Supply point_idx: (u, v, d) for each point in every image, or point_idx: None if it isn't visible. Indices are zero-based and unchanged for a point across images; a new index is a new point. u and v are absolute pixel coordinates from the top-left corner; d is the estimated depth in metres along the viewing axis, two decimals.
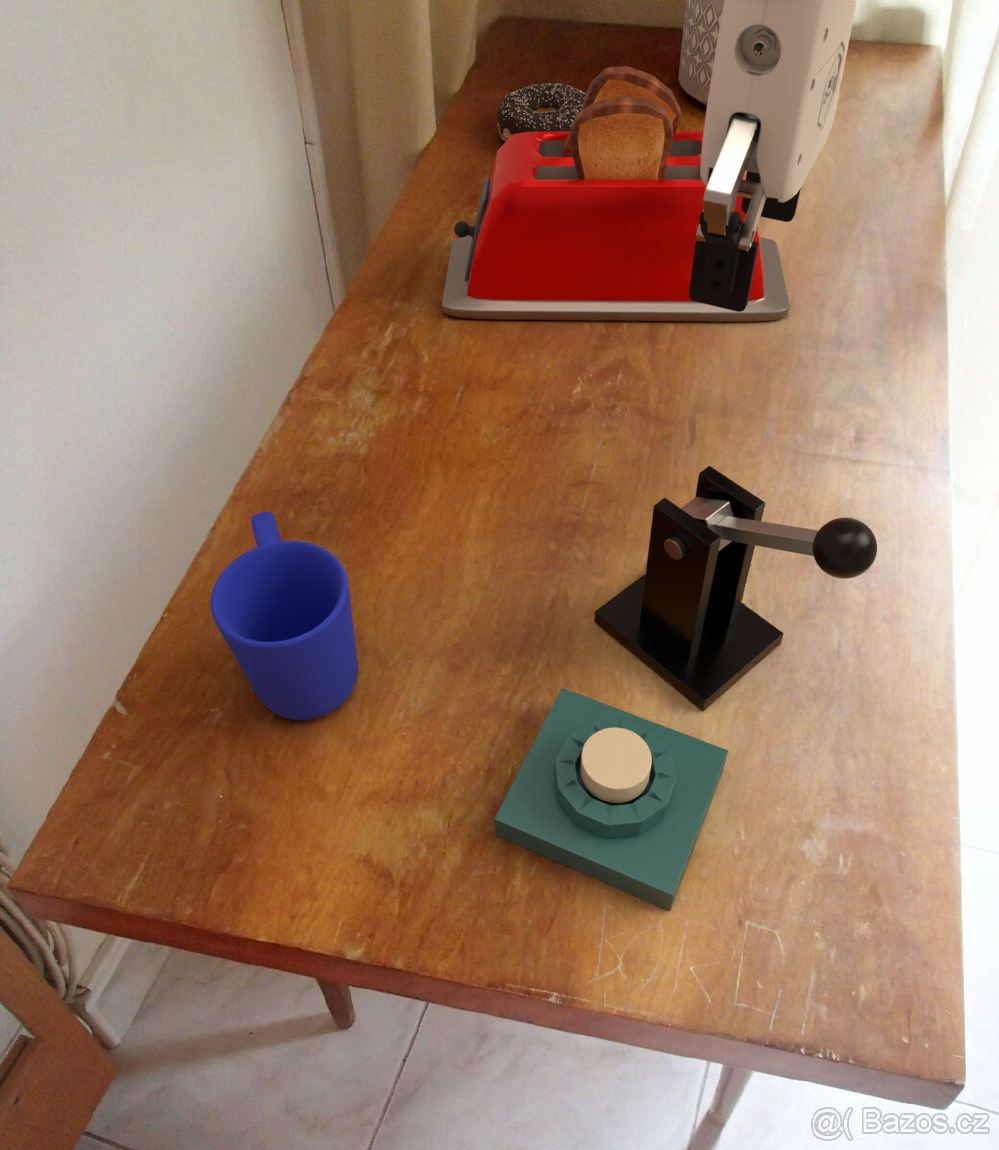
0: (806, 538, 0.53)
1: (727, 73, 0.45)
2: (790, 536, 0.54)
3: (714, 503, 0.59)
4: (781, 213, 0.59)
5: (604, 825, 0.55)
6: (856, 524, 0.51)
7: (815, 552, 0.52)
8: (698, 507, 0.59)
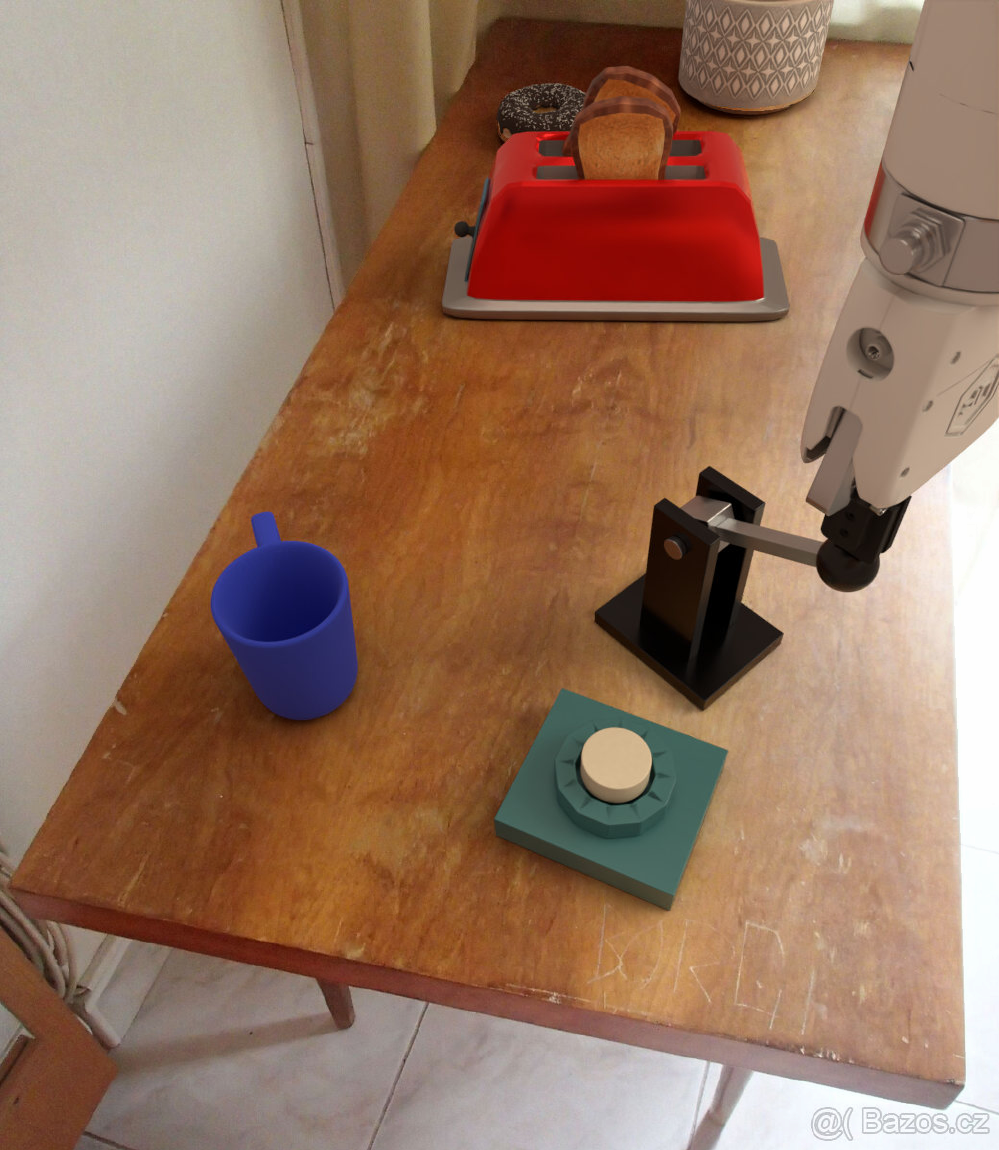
0: (809, 549, 0.53)
1: (836, 364, 0.39)
2: (793, 545, 0.54)
3: (716, 504, 0.59)
4: None
5: (604, 825, 0.55)
6: None
7: (819, 565, 0.52)
8: (699, 507, 0.59)
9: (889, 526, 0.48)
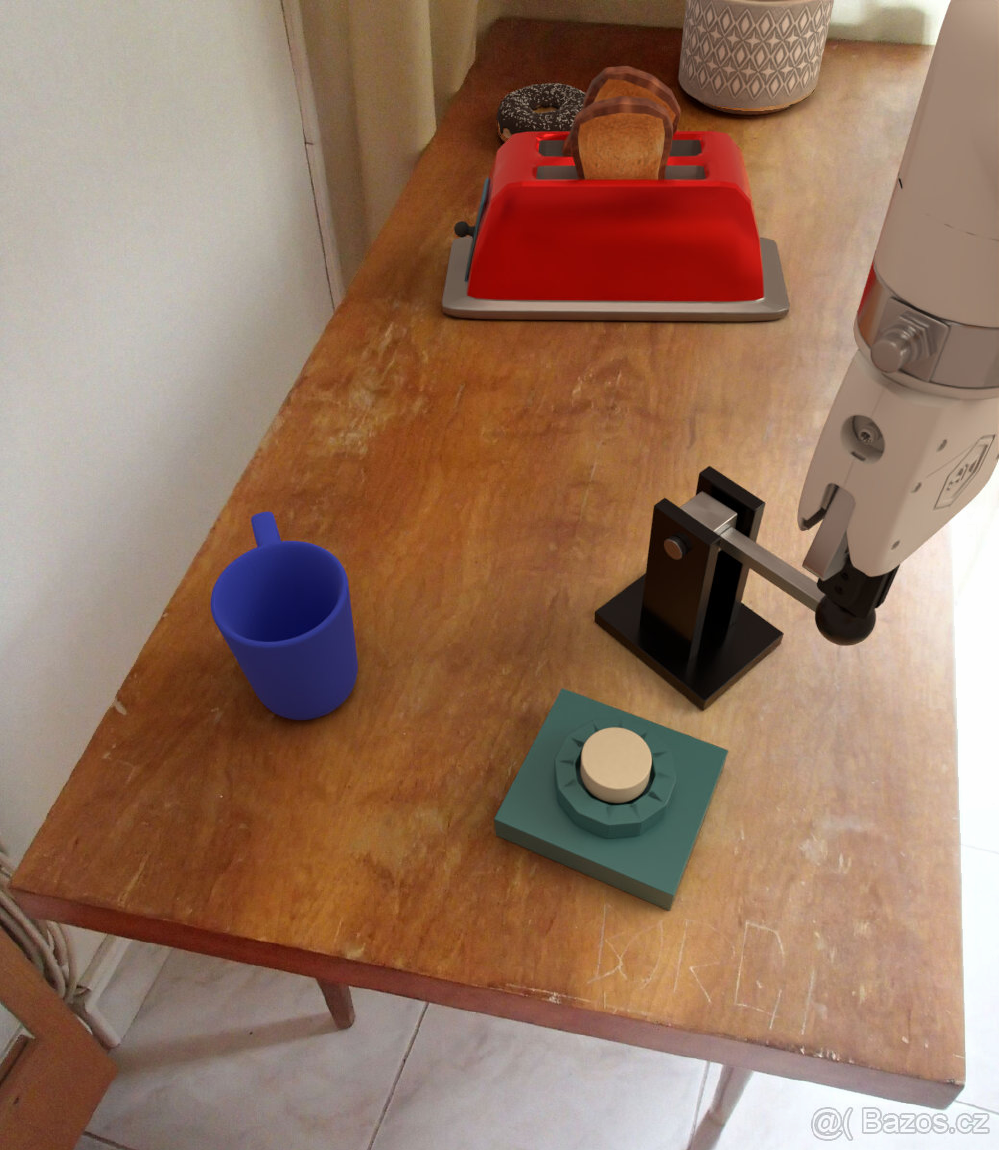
0: (812, 594, 0.55)
1: (831, 445, 0.42)
2: (796, 584, 0.56)
3: (722, 510, 0.59)
4: None
5: (604, 825, 0.55)
6: None
7: (820, 617, 0.54)
8: (705, 509, 0.59)
9: (881, 585, 0.50)
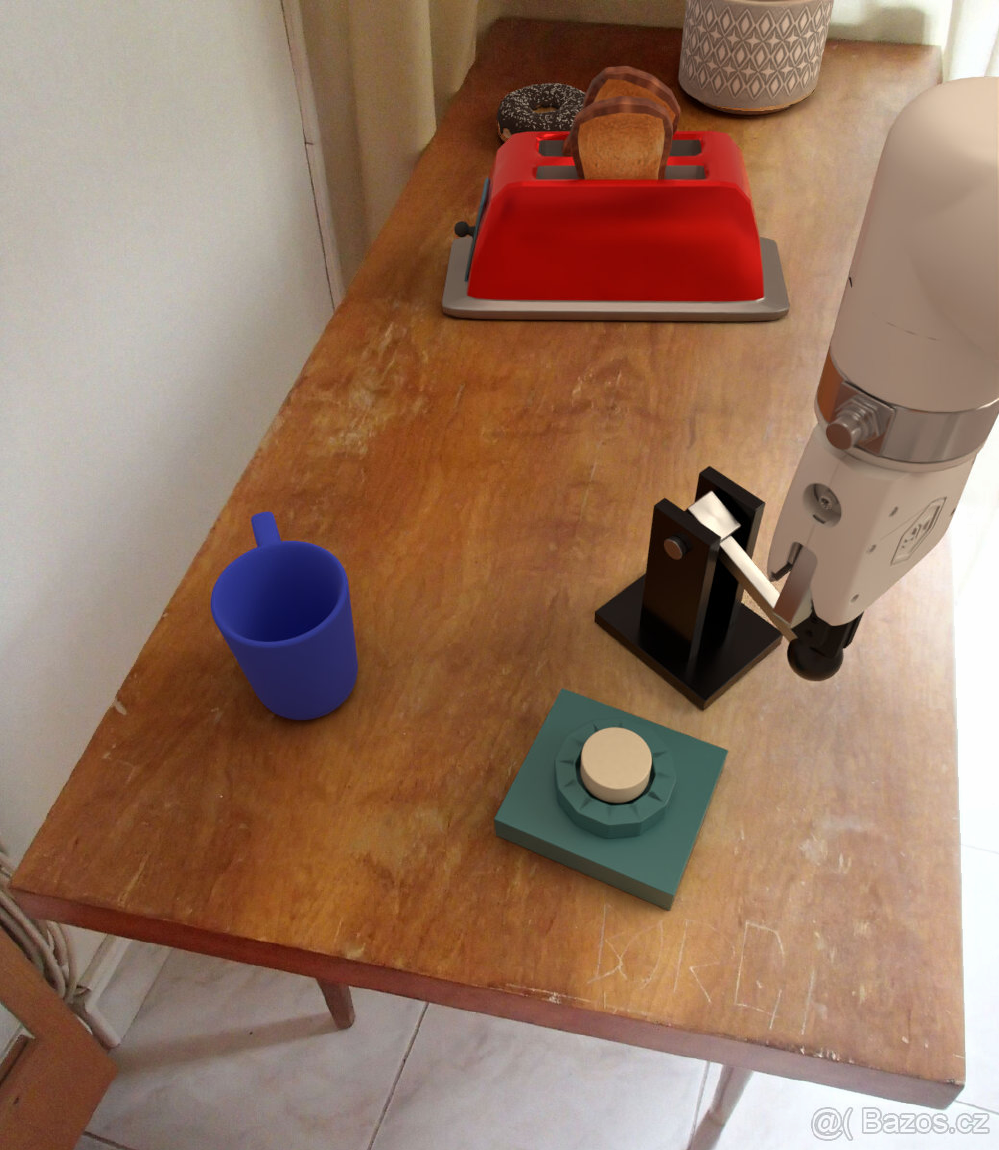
0: None
1: (794, 508, 0.46)
2: None
3: (727, 519, 0.59)
4: None
5: (604, 825, 0.55)
6: (840, 654, 0.57)
7: (796, 655, 0.58)
8: (712, 514, 0.59)
9: (848, 629, 0.54)
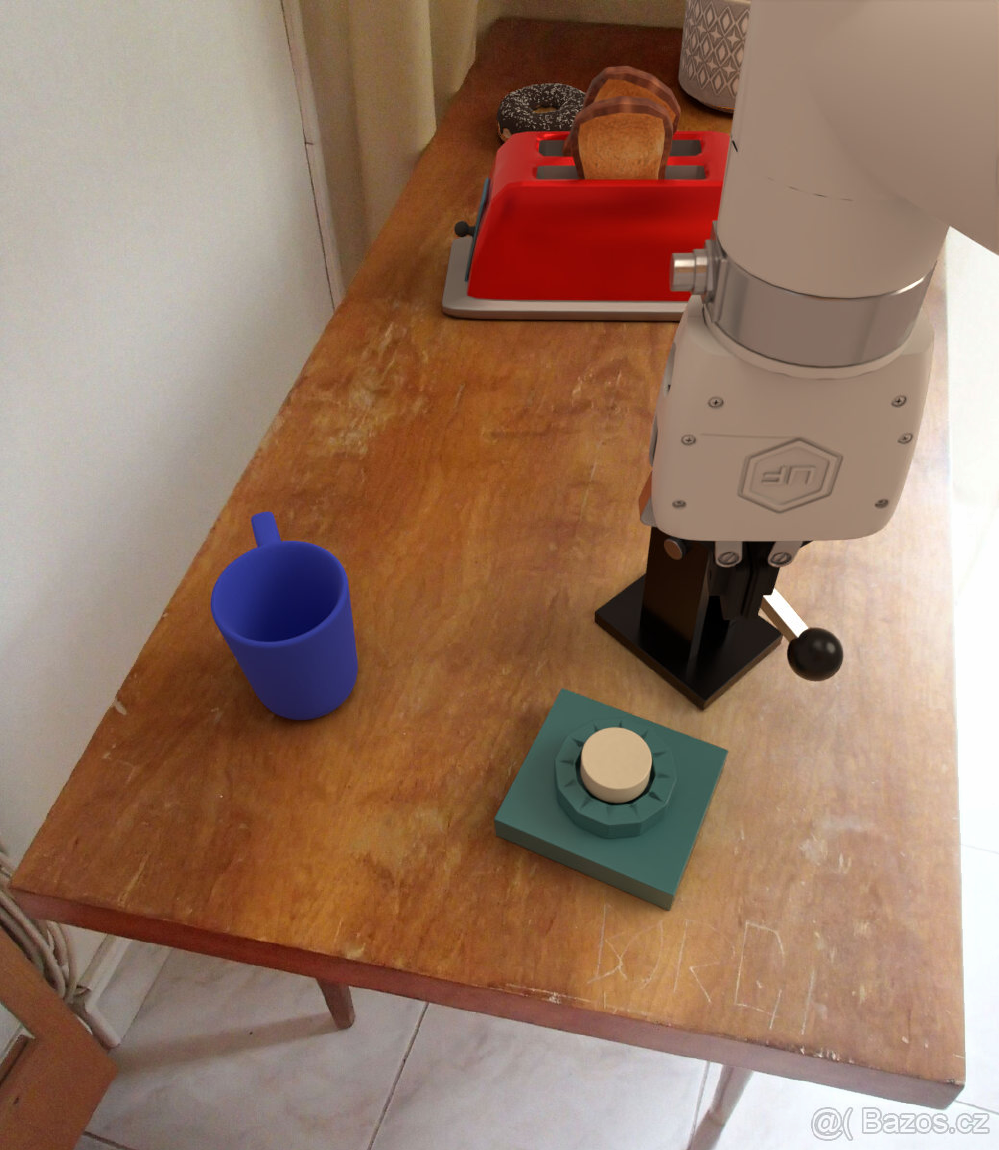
0: (792, 627, 0.58)
1: None
2: (780, 614, 0.58)
3: None
4: None
5: (604, 825, 0.55)
6: (840, 654, 0.57)
7: (796, 655, 0.58)
8: None
9: (738, 587, 0.47)
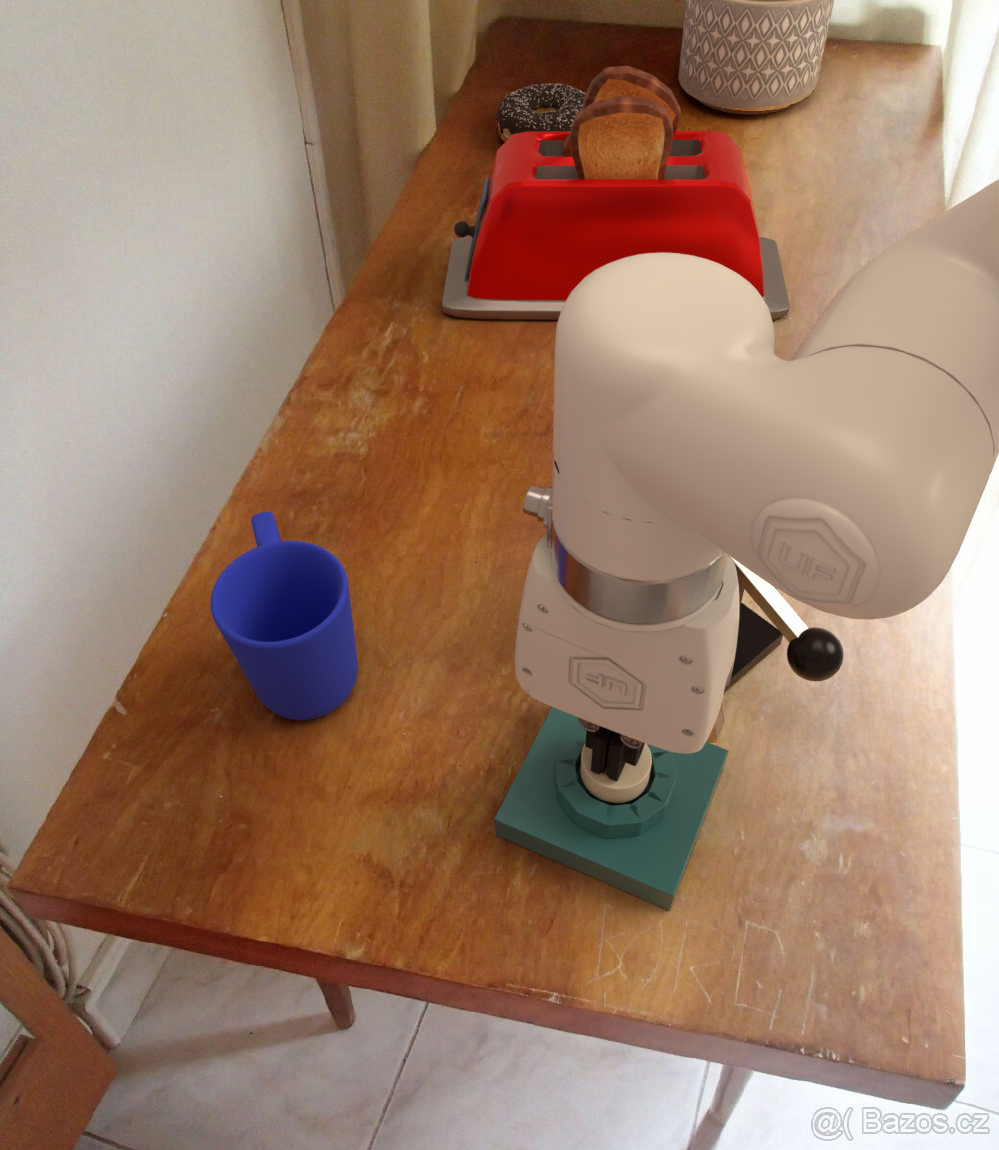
0: (792, 627, 0.58)
1: None
2: (780, 614, 0.58)
3: None
4: None
5: (604, 825, 0.55)
6: (840, 654, 0.57)
7: (796, 655, 0.58)
8: None
9: (596, 750, 0.53)
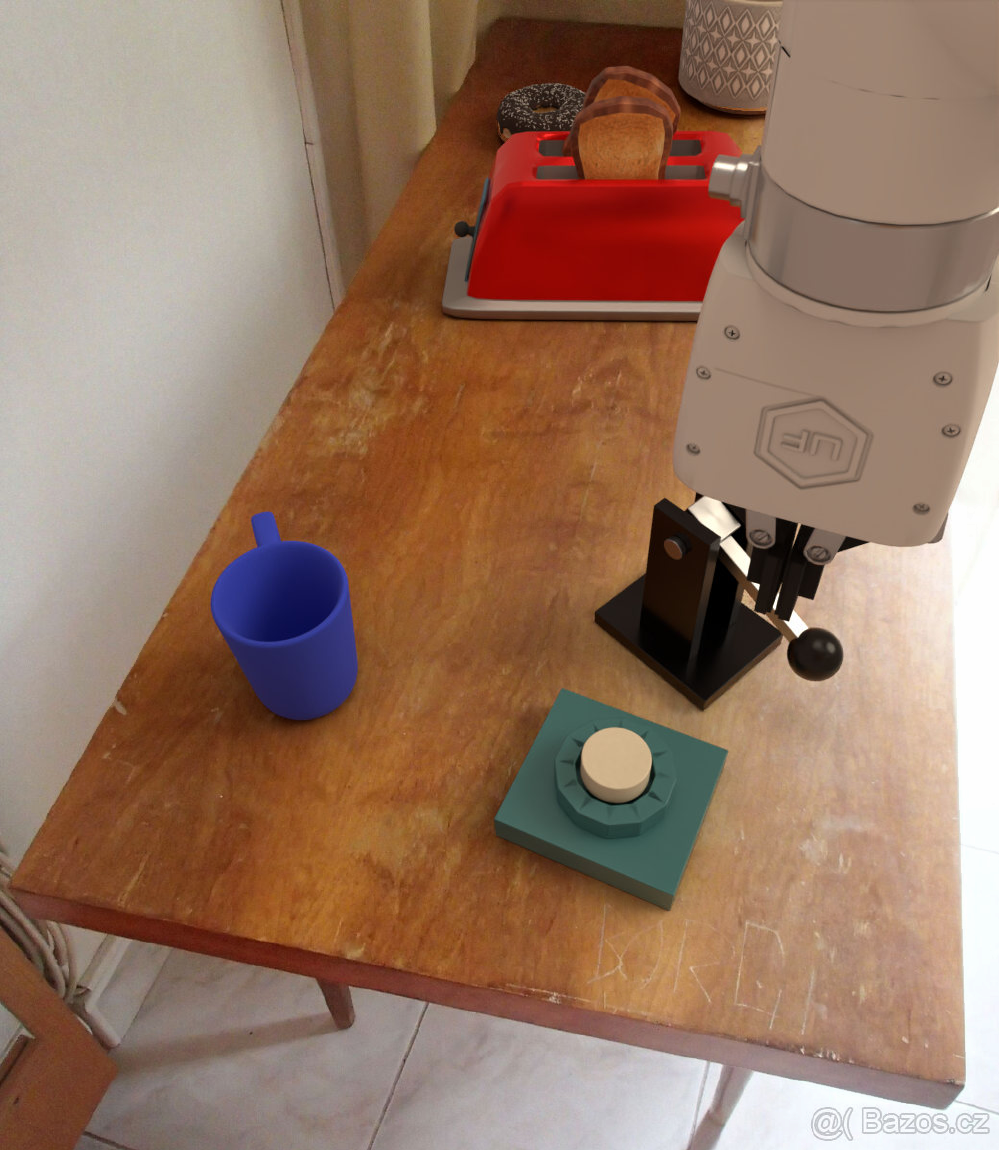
0: (792, 627, 0.58)
1: None
2: None
3: (727, 519, 0.59)
4: None
5: (604, 825, 0.55)
6: (840, 654, 0.57)
7: (796, 655, 0.58)
8: (712, 514, 0.59)
9: (768, 575, 0.42)
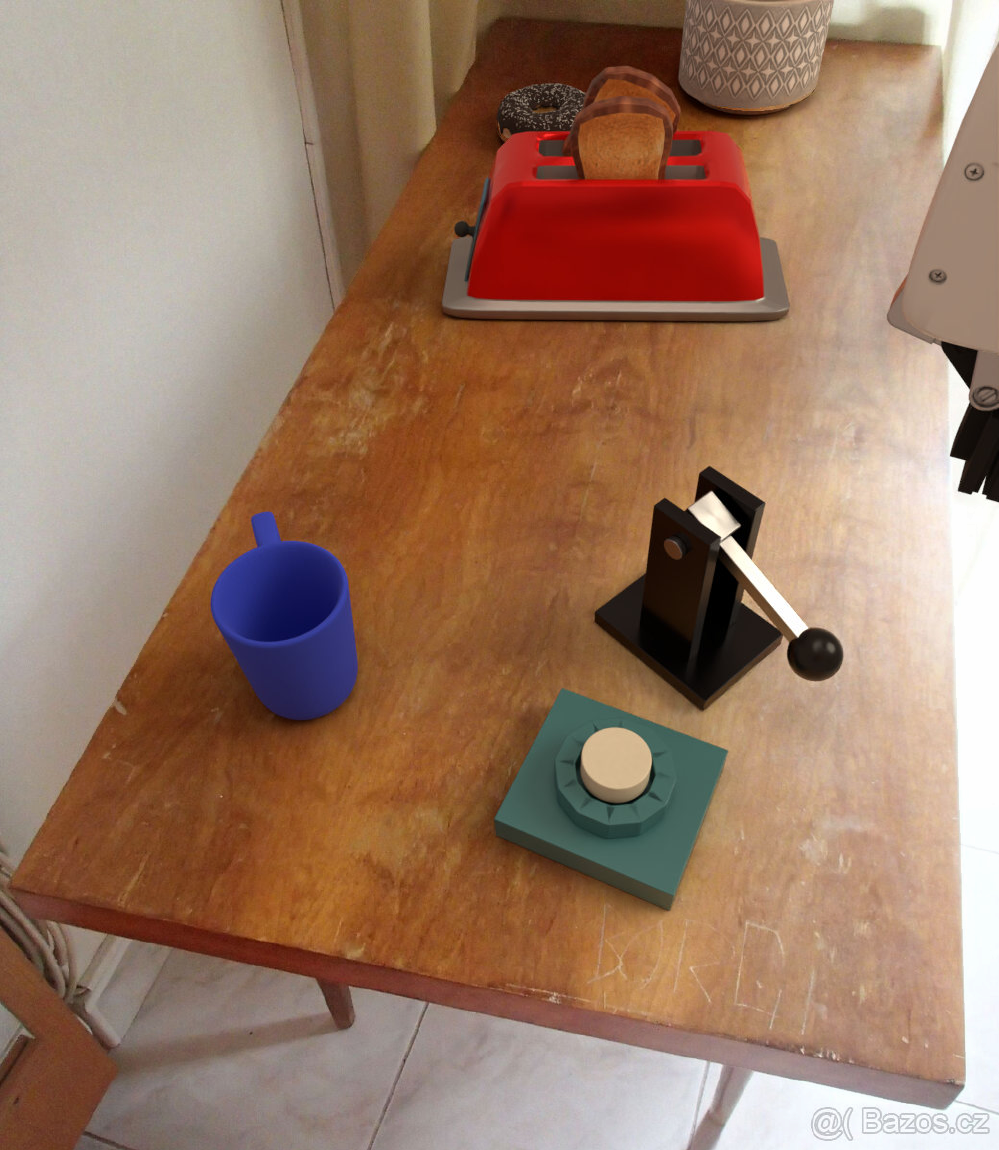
0: (792, 627, 0.58)
1: None
2: (780, 614, 0.58)
3: (727, 519, 0.59)
4: (987, 479, 0.38)
5: (604, 825, 0.55)
6: (840, 654, 0.57)
7: (796, 655, 0.58)
8: (712, 514, 0.59)
9: (988, 443, 0.36)
